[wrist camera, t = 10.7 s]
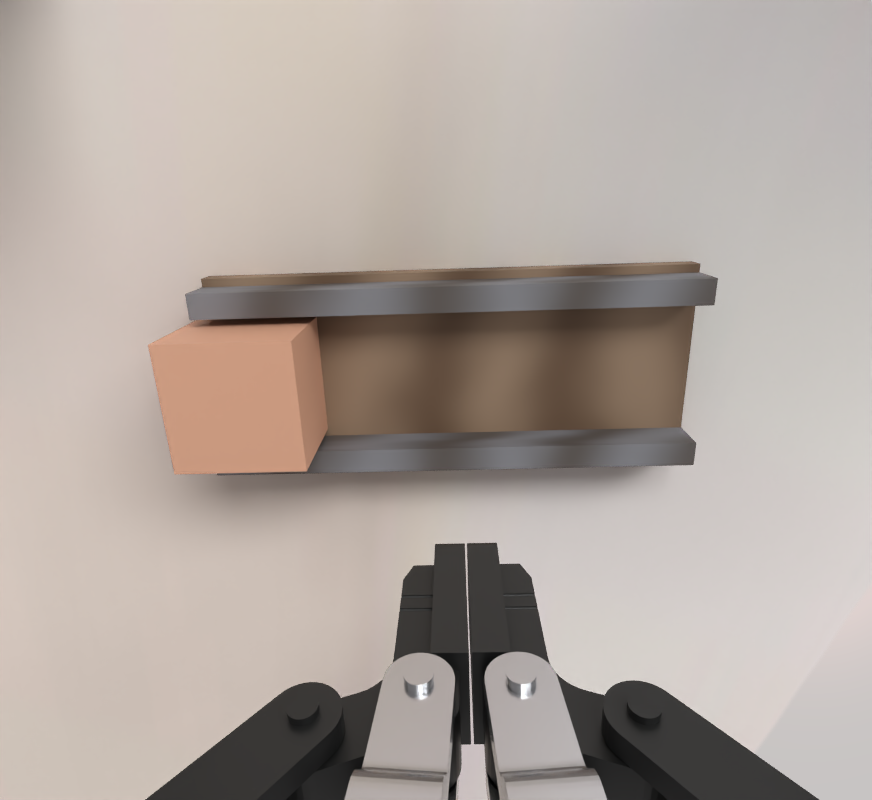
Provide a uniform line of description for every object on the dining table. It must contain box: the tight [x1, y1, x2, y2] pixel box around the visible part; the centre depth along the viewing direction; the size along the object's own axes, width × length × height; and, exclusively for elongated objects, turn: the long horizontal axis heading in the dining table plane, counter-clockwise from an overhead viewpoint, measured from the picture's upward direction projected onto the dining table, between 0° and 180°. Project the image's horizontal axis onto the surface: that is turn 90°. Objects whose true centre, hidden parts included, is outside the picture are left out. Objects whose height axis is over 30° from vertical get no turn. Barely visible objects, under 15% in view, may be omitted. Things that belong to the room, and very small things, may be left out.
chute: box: [185, 262, 718, 475], centre depth 29 cm, size 24×10×3 cm, turn 92°
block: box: [148, 317, 328, 474], centre depth 27 cm, size 6×6×5 cm
